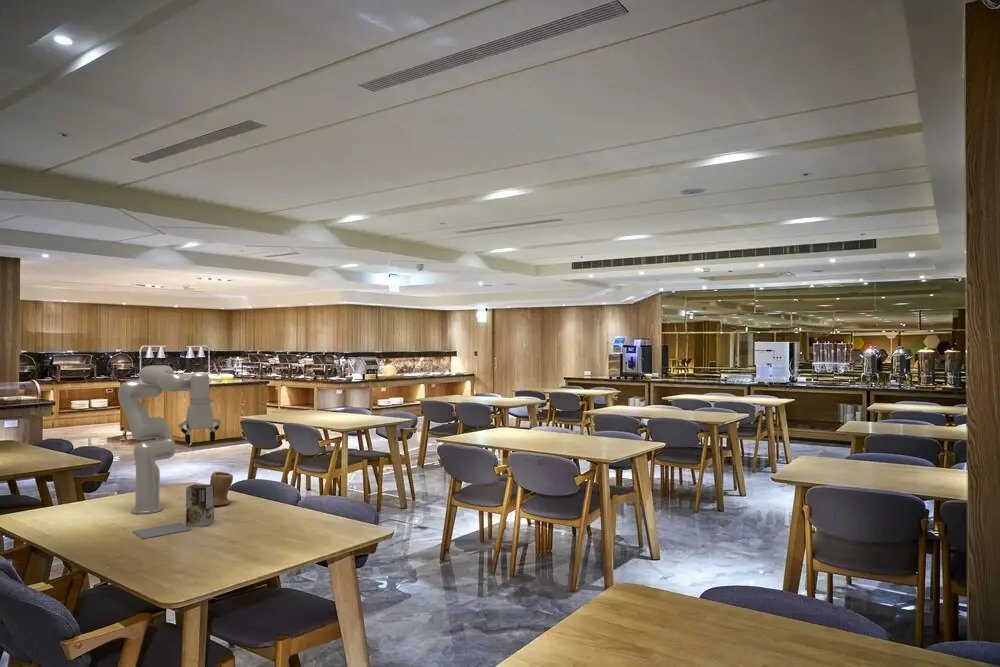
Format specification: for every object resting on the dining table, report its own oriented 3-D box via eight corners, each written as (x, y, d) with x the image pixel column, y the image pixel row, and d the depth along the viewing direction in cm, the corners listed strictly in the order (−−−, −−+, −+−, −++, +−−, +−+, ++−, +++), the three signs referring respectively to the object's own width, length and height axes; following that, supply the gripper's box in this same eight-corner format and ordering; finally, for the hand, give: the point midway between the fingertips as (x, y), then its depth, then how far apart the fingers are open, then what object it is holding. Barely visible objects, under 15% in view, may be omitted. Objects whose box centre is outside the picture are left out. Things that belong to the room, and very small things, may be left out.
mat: (132, 531, 260) (132, 530, 260) (180, 523, 272) (180, 522, 272) (142, 539, 250) (142, 538, 250) (192, 530, 262) (192, 529, 262)
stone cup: (236, 504, 306) (237, 472, 307) (211, 508, 298) (211, 476, 298) (222, 499, 317) (223, 468, 317) (198, 503, 308) (198, 471, 308)
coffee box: (214, 522, 274) (214, 484, 274) (206, 526, 267) (206, 487, 268) (193, 522, 275) (194, 483, 275) (185, 526, 268) (185, 486, 269)
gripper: (217, 401, 288) (218, 439, 287) (175, 403, 276) (176, 444, 275) (223, 401, 282) (224, 441, 281) (181, 404, 271) (181, 445, 270)
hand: (200, 442), depth 278 cm, fingers open, 9 cm apart
